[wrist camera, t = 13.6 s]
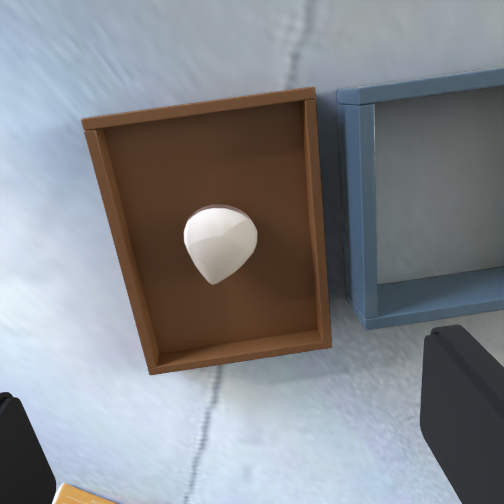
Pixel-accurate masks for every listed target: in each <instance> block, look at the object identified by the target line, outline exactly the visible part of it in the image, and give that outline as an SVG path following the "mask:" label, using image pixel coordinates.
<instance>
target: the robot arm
mask: <svg viewBox="0 0 504 504" xmlns="http://www.w3.org/2000/svg"><path fill="white" fill-rule="evenodd" d="M420 428H421V431H422V434H423V437H424V439H425V441H426V442H427V444H428V446H429V448H430V449H431V451H432V453H433V454H434V456H435V458H436V460H437V461H438V463H439V465H440V466H441V468H442V470H443V472H444V473H445V475H446V477H447V478H448V480H449V482H450V484H451V485H452V487H453V489H454V490H455V492H456V494H457V496H458V497H459V499H460V501H461V502H462V504H504V367H503V366H502V365H501V364H500V363H499V362H498V361H497V360H496V359H495V358H494V357H493V356H492V355H491V354H490V353H489V352H488V351H487V350H486V349H485V348H484V347H483V346H482V345H481V344H480V343H479V342H478V341H477V340H476V339H475V338H474V337H473V336H472V335H471V334H470V333H469V332H468V331H467V330H466V329H464V328H463V327H462V326H461V325H450V326H443V327H437V328H433V329H432V331H431V335H427V336H426V337H425V339H424V353H423V371H422V390H421V409H420ZM55 493H56V480H55V477H54V475H53V473H52V470H51V468H50V466H49V464H48V461H47V459H46V457H45V455H44V452H43V450H42V448H41V446H40V443H39V441H38V439H37V437H36V434H35V432H34V430H33V428H32V425H31V423H30V421H29V419H28V416H27V414H26V412H25V410H24V407H23V405H22V403H21V401H20V399H18V398H16V397H13V396H12V394H10V393H9V392H3V393H0V504H52V502H53V500H54V497H55Z"/></svg>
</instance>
